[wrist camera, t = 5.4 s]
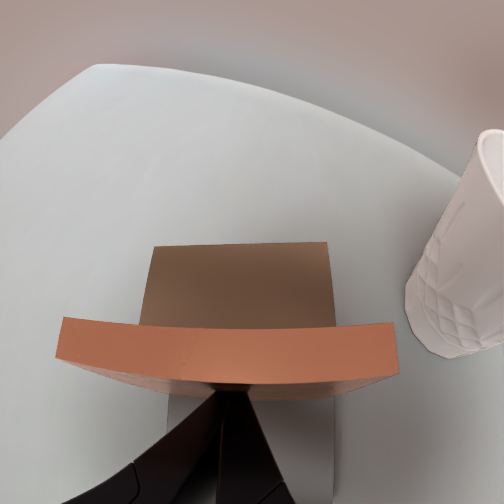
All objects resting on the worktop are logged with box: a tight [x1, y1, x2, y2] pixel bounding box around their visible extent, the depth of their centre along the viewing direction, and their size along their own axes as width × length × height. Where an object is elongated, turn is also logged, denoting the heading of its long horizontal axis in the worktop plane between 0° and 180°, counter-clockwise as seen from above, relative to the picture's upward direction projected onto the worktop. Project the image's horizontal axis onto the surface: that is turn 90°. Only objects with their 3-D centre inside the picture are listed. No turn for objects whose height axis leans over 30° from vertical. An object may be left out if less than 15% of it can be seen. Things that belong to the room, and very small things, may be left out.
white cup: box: [405, 129, 504, 359], centre depth 10 cm, size 8×8×10 cm
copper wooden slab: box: [55, 317, 399, 401], centre depth 10 cm, size 5×7×9 cm
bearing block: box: [139, 242, 336, 504], centre depth 10 cm, size 10×8×7 cm
